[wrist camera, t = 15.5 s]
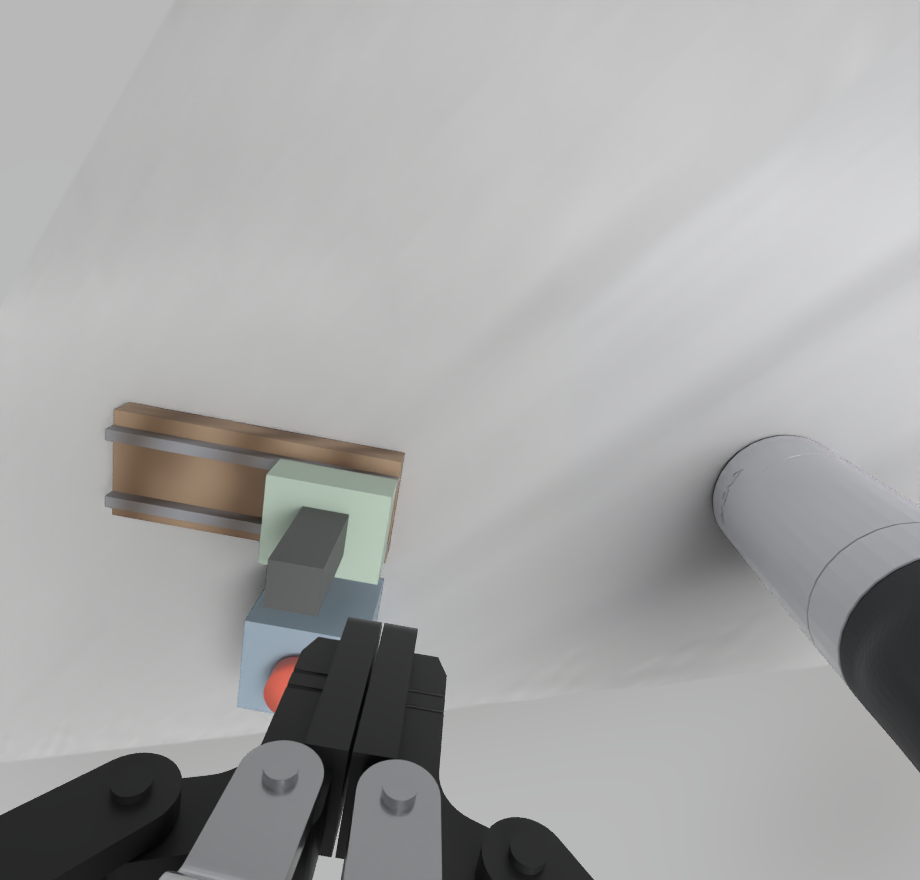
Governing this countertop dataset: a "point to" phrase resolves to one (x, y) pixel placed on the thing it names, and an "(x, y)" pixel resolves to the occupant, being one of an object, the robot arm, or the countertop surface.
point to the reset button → (278, 682)
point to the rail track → (216, 468)
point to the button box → (297, 633)
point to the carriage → (321, 532)
